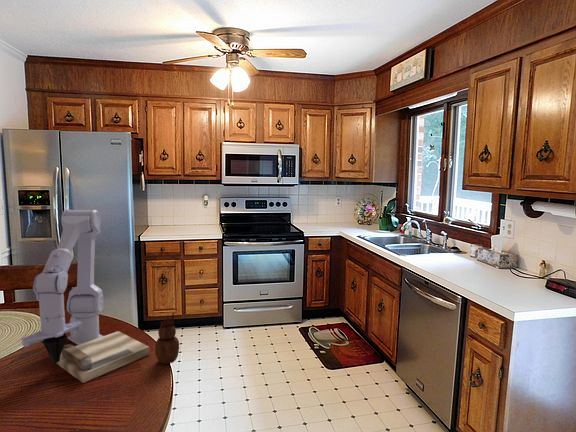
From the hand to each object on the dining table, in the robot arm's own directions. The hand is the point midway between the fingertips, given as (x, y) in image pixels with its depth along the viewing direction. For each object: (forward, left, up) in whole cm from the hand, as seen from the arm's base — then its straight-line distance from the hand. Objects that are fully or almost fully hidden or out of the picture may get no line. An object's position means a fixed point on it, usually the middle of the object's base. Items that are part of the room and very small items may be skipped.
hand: (55, 361), depth 103 cm
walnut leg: (+3, +4, -1) cm, 5 cm away
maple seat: (+2, +12, -3) cm, 13 cm away
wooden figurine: (+19, +23, -4) cm, 30 cm away
